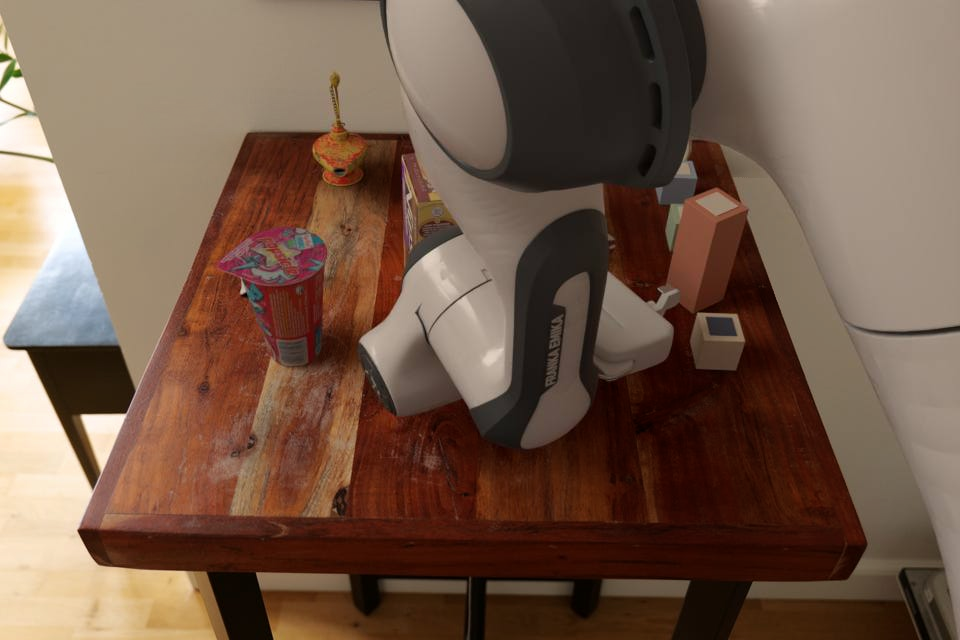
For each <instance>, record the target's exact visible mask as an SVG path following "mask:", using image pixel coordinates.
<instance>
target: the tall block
mask: <svg viewBox="0 0 960 640" xmlns="http://www.w3.org/2000/svg"><path fill="white" fill-rule="evenodd" d="M749 211H750V208H749V207H748V206H746V205H745V204H743V203H741V202H740V201H738V200H737V199H736V198H734V197H732V196H731V195H730V194H728V193H727V192H725V191H724V190H722V189H720V188H719V187H716V186H715V187H714V188H711V189H708V190H706V191H704V192H701V193H699V194H696V195H694V196H693V197H691V198H689V199H686V200H685V202H684V206H683V211H682V215H681V220H680V224H679V229H678V233H677V237H676V242H675V246H674V251H673V252H672V255H671V260H670V265H669V269H668V273H667V279H666V283H665V285H666V284H668V283H670V284H671V285H673V286H674V287H675V288H676V289H678V290H679V291H680V292H681V296H680V300H679V302H678V304H680V305H681V306H682V307H684V308H685V309H686V310H687V311H688V312H689V313H690V314H692V315H694V314H697V313H699V312H700V311H703V310H705V309H707V308H709V307H711V306H713V305H715V304H717V303H720V302H722V301H723V300H724V297H725V294H726V291H727V287H728V283H729V280H730V278H731V273H732V271H733V266H734V263H735V259H736V256H737V253H738V250H739V245H740V242H741V238H742V235H743V233H744V232H743V231H744V228H745V225H746V222H747V218H748V215H749Z"/></svg>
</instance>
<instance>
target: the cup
mask: <svg viewBox="0 0 960 640" xmlns="http://www.w3.org/2000/svg"><path fill="white" fill-rule="evenodd" d="M327 260H328V248H327V245H326V243H325V241H324V240H323V239H322V238H321V236H319V235H317V234H316V233H315V232H313V231H311V230H307V229H304V228H300V227H292V226H291V227H290V226H279V227H271V228H267V229H262V230H260V231H257V232H255V233H252V234H251V235H249V236H247V237H246V238H244V239H243V240H242V241H240V242H239V243H238V244H237V245H235V246H234V247H232V249H231V250H229V251H228V252H227V253H226V254H224V255H223V256H222V257H221V258H220V259H219V260H218V261H217V262H216V265H215V267H216V269H217V270H219V271H222V272H225V273H227V274H230V275H232V276H235V277H238V278H240V280H241V279H242V281H241V283H242V282H243V284H244V287H245V289H246V294H247V295H246V296H247V297H248V300H249V302H250V305H251V308H252V311H253V313H254V315H255V319H256V321H257V323H258V325H259V327H260V332H261V334H262V336H263V339H264V341H265V344H266V347H267V350H268V352H269V354H270V357H271V358H272V360H273V361H274V362H275V363H276V364H278V365H281V366H285V367H290V368H291V367H301V366H305V365H307V364H310V363H311V362H313V361H314V360H316V358H318V356H319V355H320V353H321V351H322V343H323V341H322V340H323V311H324V288H325V287H324V285H325V266H326V265H325V264H326V262H327Z"/></svg>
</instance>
